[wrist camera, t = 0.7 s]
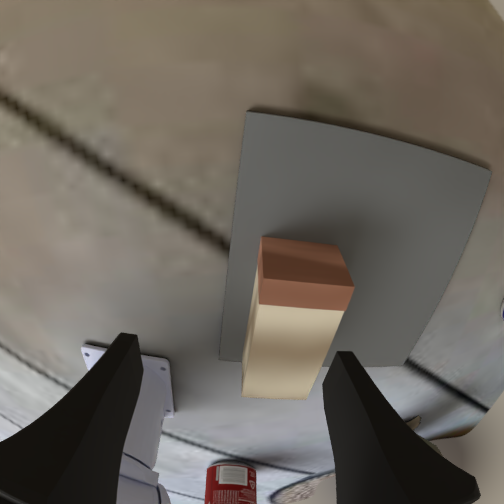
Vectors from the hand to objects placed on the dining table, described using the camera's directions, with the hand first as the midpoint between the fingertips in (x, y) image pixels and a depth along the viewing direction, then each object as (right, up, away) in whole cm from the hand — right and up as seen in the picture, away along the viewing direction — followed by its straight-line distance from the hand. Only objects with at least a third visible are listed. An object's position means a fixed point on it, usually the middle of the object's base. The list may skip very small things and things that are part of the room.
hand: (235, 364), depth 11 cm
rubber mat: (+7, +3, +9) cm, 12 cm away
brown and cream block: (+3, 0, +10) cm, 11 cm away
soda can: (-2, -26, +27) cm, 37 cm away
